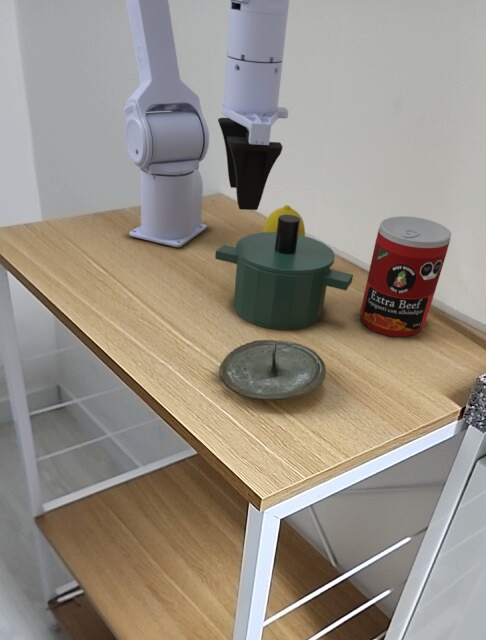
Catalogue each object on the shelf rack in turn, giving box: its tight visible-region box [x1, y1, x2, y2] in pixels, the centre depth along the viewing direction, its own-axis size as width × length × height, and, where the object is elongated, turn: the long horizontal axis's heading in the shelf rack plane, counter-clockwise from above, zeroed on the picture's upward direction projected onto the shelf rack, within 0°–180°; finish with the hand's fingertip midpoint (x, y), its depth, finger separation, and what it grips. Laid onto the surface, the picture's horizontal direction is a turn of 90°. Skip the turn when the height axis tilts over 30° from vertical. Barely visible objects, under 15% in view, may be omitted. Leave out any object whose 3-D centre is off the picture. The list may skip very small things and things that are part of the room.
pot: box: [214, 244, 354, 331], centre depth 74 cm, size 10×16×6 cm, turn 67°
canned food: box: [360, 215, 452, 338], centre depth 72 cm, size 8×8×11 cm
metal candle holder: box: [218, 339, 327, 402], centre depth 62 cm, size 11×10×5 cm
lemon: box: [262, 204, 306, 236], centre depth 83 cm, size 6×6×8 cm
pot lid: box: [235, 215, 336, 275], centre depth 71 cm, size 11×11×5 cm
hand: (243, 197), depth 74 cm, fingers open, 7 cm apart
